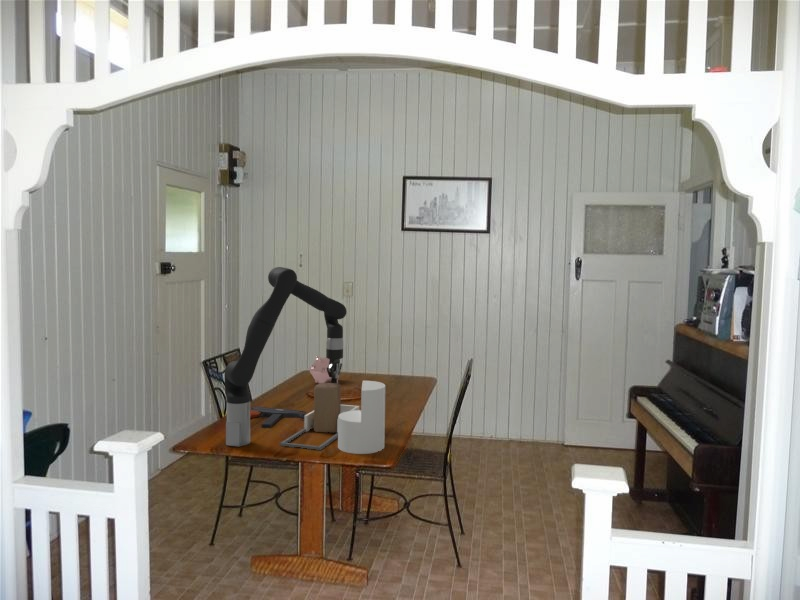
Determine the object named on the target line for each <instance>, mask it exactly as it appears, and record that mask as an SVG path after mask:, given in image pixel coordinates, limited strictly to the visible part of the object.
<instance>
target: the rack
mask: <svg viewBox="0 0 800 600" xmlns="http://www.w3.org/2000/svg"><path fill="white" fill-rule="evenodd" d="M353 410H360V405H352V404H351V405H350V404H341V411H340V414H341V413H343V412H347V411H353ZM303 420H304V421H303V424H304V425H303V426H304V427H303V429H306V432H305V433H308V432H309V431H310V429H311V430H312V429H314V409H313V410H312V411H310V412H309V413H306V414H305V416H304V417H303ZM337 433H338V419H337V432H336V434H337Z"/></svg>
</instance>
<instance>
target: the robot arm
mask: <svg viewBox="0 0 800 600" xmlns="http://www.w3.org/2000/svg"><path fill="white" fill-rule="evenodd" d="M267 280H268V283H269V285H270V286H271V287H272V288H273V289H272V292H271V294H270V295H269V298H268V299H267V300H266V301H265V302H264V303H263V304H262V305H261V306H260V307H259V308H258V309H257V310H256V312H255V313H254V314H253V317H251V321H250V323H249V325H248V327H247V330H246V331H247V332H246V336H245V342H244V347H243V350H242V352H241V355H240V356H239V357H238V358H239V359H238V360H233V361H230V362H229V363H228V364H227V365H226V366H225V370H224V392H225V396H226V422H225V446H231V447H239V448H240V447H243V446H247V445H249V444H251V419H250V410H251V394H250V392H249V388H248V384H250V381H251V380H252V379H253V377H254V373H255V371H256V368H257V365H258V362H259V359H260V357H261V354H262V353H263V351H264V349H265V346H267V345H266V344H267V342H268V340H269V339H270V336H271V334H272V332H273V330H274V329H275V328H274V327H275V325H276V324H277V323H276V322H277V321H278V319H279V316H280V314H281V313H282V311H283V308H284V306H285V304H286V302H287V300H288V299H289V297H290V295H293V296H294V297H296V298H298V299H299V300H302V301H303V302H304V303H306V304H307V305H309V306H311V308H315V310H318V311H320V312H323V316H324V321H325V325H326V331H327V332H326V343H325V344H326V345H325V346H326V348H325V350H326V351H325V354H326V355H325V356H326V357H325V358H328V359H330V361H329V367H327V372H328V375H329V377H331V382H330V383H337V378H338V379H339V377H338V375H339V376H340V374H341V370H342V366H343V363H341V359H343V358H344V329H343V327H344V326H343V325H342V324H340V323H339V321H338V320H342V319H344V318H345V317H346V316H347V313H348V312H347V307H346V306H345V305H344V304H343V303H342V302H339V301H338V300H335V299H333V298H331V297H329V296H327V295H325V294H324V293H322V292H320V291H319V290H317V289H315V288H313V287H311V286H309V285H307V284H305V283H302V282H301V281H298V277H297V273H296V271H294V269H291V268H289V267H284V266H283V267H282V266H277V267H274V268H272V269H271V270H269V272H268V276H267Z"/></svg>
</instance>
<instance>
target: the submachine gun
mask: <svg viewBox="0 0 800 600" xmlns="http://www.w3.org/2000/svg"><path fill="white" fill-rule="evenodd" d="M306 414H307V411H306V410H297V409H287V408H286V409H285V408H276V407H267V406H266V407H265V406H253V407H250V420H251V419H253V418H254V419H255V418H263V419H265V418H267V419H266V420H264V421H263V422H262V423H261V427H260V428H269V429H270V428H272V427H273V426H274V425H275V424H276V423H277V422H278V421H280V420H281V418H294V419H295V418H296V419H298V418H299V419H300V421H301V420H302V422H304V416H305V415H306Z"/></svg>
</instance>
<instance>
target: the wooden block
mask: <svg viewBox="0 0 800 600" xmlns="http://www.w3.org/2000/svg"><path fill="white" fill-rule="evenodd" d="M341 387H342V386H341V383H339V382H338V383H331V382H330V383H317V384H316V385H315V386H314V388H313V394H314V395H313V397H314V398H313V410H314V428H313V431H314V432H315V433H328V432H329V433H331V434H332V433H333V434H336V433H337V419H338V416H339V414H340V411H341V402H342V401H341V399H342V396H341V395H342V394H341V392H342V391H341V389H342V388H341Z"/></svg>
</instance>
